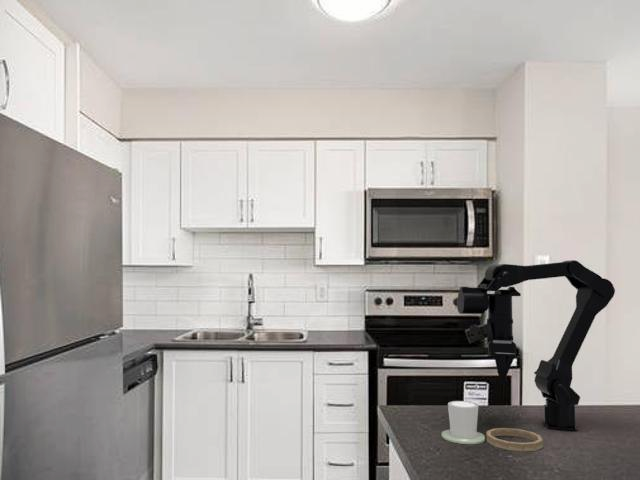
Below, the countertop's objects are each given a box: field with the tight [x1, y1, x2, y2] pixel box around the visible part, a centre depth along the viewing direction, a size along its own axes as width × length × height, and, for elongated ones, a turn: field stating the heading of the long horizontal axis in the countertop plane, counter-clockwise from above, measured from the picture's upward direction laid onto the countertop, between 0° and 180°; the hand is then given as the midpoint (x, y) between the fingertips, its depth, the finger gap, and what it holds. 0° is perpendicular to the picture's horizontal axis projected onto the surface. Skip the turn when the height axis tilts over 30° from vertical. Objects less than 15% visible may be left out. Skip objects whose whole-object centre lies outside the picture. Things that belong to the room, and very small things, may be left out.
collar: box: [486, 427, 544, 452], centre depth 116 cm, size 12×12×2 cm
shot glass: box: [447, 400, 480, 439], centre depth 120 cm, size 7×7×7 cm
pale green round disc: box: [441, 428, 486, 445], centre depth 120 cm, size 10×10×1 cm
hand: (501, 377), depth 129 cm, fingers open, 9 cm apart
